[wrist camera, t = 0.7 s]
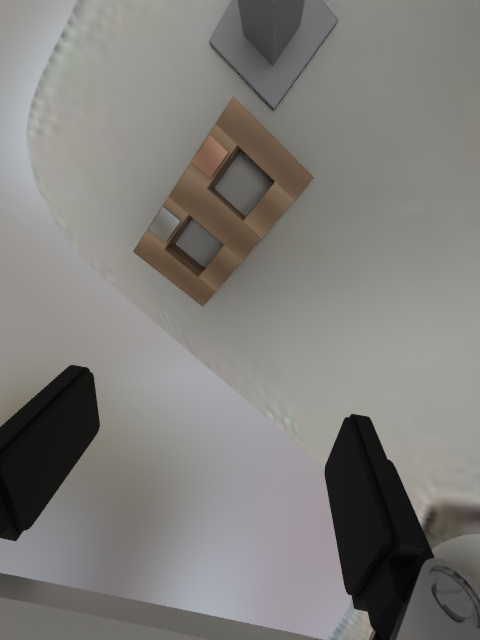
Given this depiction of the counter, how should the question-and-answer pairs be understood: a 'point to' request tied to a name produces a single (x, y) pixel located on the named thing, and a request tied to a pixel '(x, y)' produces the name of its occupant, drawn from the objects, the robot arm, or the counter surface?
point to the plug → (270, 24)
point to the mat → (290, 62)
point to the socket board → (221, 204)
